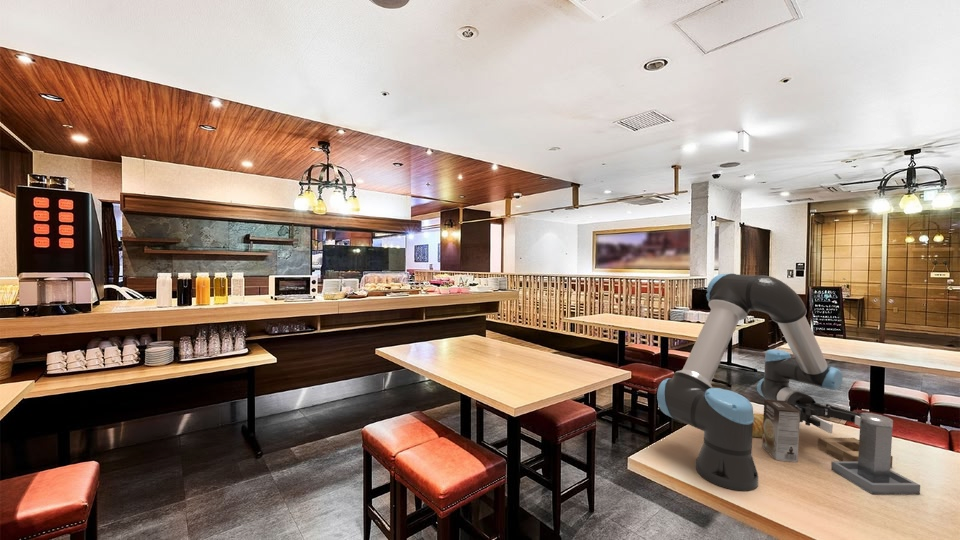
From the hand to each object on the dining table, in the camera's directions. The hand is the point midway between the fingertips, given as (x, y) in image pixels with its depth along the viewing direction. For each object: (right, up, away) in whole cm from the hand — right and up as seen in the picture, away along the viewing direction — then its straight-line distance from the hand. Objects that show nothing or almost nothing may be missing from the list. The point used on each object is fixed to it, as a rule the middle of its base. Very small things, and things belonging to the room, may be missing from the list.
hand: (854, 429), depth 117 cm
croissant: (-12, -11, +24) cm, 30 cm away
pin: (0, -12, -6) cm, 13 cm away
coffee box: (-16, -12, +9) cm, 21 cm away
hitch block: (+6, -12, +7) cm, 15 cm away
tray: (0, -12, -6) cm, 14 cm away
